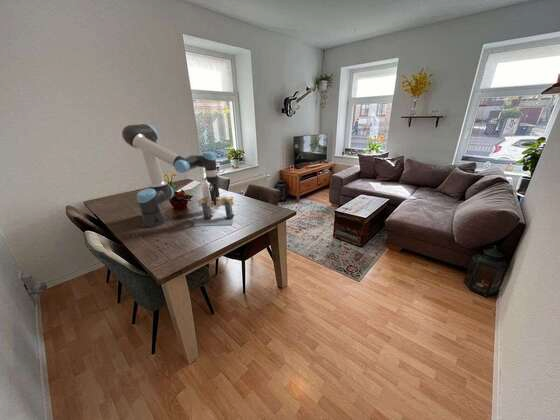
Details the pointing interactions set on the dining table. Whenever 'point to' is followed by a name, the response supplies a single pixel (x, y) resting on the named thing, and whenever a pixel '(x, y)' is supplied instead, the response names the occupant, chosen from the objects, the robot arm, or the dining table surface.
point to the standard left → (206, 212)
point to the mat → (214, 223)
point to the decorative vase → (208, 195)
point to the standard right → (228, 211)
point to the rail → (220, 201)
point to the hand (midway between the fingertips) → (217, 207)
